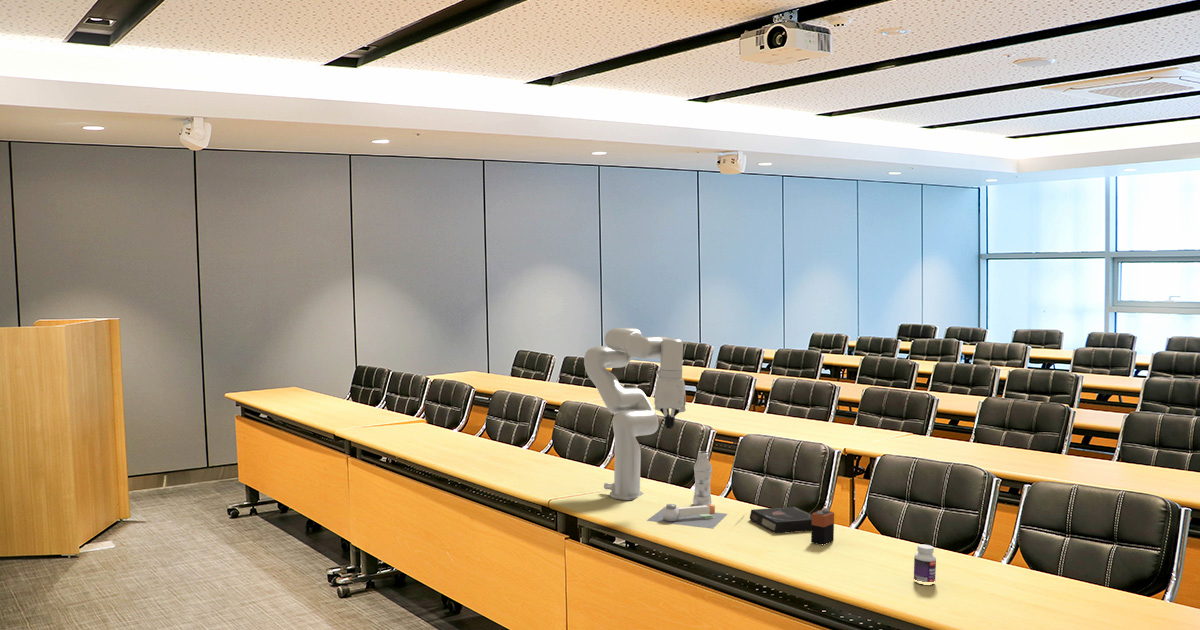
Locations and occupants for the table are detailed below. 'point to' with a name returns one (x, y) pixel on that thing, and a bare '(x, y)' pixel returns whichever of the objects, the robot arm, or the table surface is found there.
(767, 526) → the flat black box
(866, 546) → the table surface
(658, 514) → the dial board
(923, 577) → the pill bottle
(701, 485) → the plastic bottle
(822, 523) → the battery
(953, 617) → the table surface
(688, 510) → the white bar with knob
